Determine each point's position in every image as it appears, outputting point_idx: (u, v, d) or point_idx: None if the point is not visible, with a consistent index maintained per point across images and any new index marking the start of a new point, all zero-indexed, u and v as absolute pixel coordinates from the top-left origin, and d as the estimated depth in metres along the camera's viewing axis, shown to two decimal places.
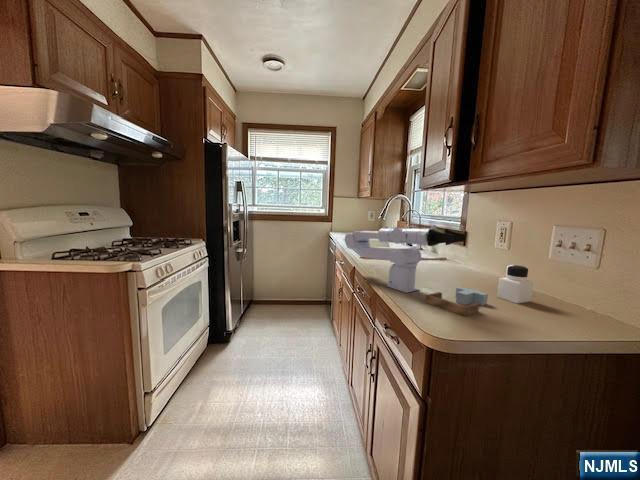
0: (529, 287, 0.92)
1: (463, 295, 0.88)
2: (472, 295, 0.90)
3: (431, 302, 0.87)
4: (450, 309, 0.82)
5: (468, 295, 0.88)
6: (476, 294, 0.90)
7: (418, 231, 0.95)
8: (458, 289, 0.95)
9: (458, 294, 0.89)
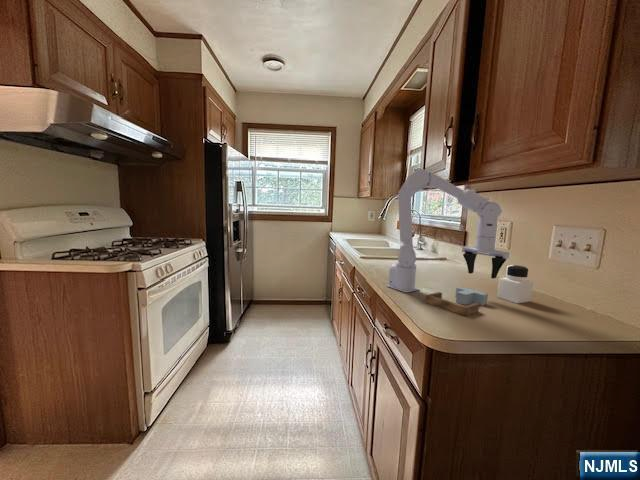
0: (529, 287, 0.92)
1: (463, 295, 0.88)
2: (472, 295, 0.90)
3: (431, 302, 0.87)
4: (450, 309, 0.82)
5: (468, 295, 0.88)
6: (476, 294, 0.90)
7: None
8: (458, 289, 0.95)
9: (458, 294, 0.89)
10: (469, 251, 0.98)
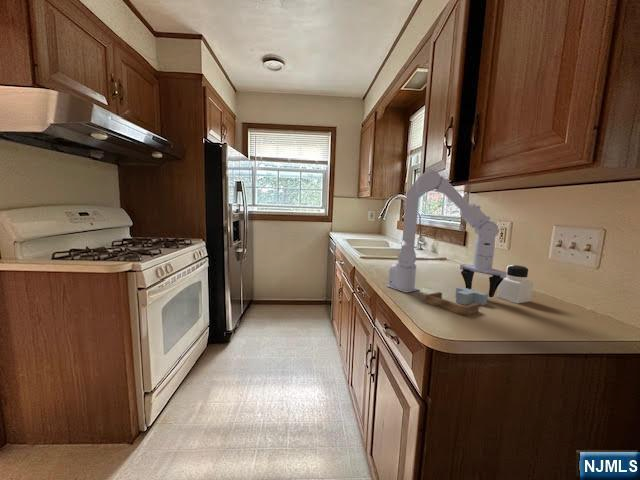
0: (529, 287, 0.92)
1: (463, 295, 0.88)
2: (472, 295, 0.90)
3: (431, 302, 0.87)
4: (450, 309, 0.82)
5: (468, 295, 0.88)
6: (476, 294, 0.90)
7: None
8: (458, 289, 0.95)
9: (458, 294, 0.89)
10: (467, 269, 0.99)
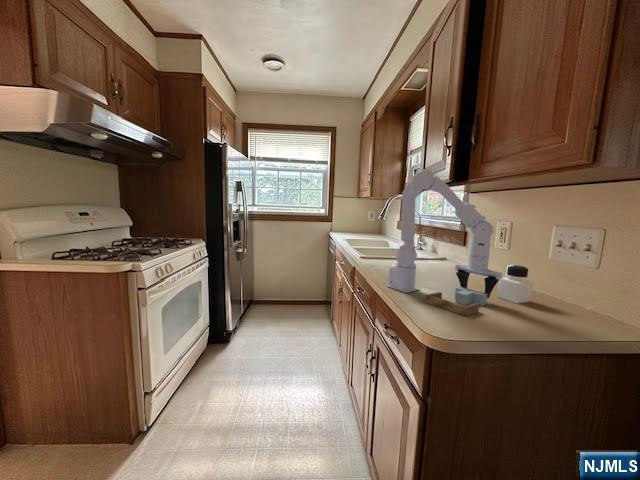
0: (529, 287, 0.92)
1: (462, 295, 0.88)
2: (471, 295, 0.90)
3: (431, 302, 0.87)
4: (450, 309, 0.82)
5: (467, 295, 0.88)
6: (475, 294, 0.89)
7: None
8: (457, 289, 0.94)
9: (457, 294, 0.89)
10: (462, 269, 0.97)
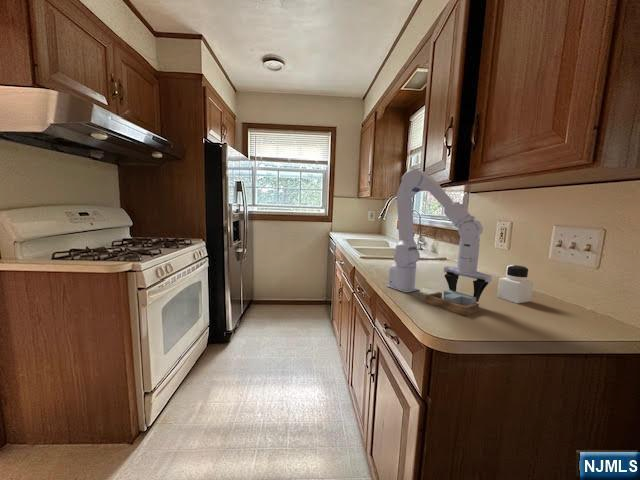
0: (529, 287, 0.92)
1: (450, 299, 0.84)
2: (460, 299, 0.85)
3: (431, 302, 0.87)
4: (450, 309, 0.82)
5: (455, 299, 0.84)
6: (464, 298, 0.85)
7: None
8: (446, 292, 0.90)
9: (445, 298, 0.85)
10: (451, 272, 0.93)
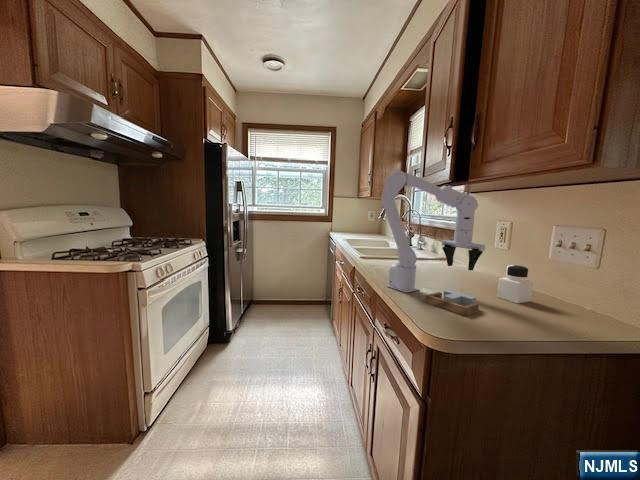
0: (529, 287, 0.92)
1: (450, 299, 0.84)
2: (460, 299, 0.85)
3: (431, 302, 0.87)
4: (450, 309, 0.82)
5: (455, 299, 0.84)
6: (464, 298, 0.85)
7: None
8: (446, 292, 0.90)
9: (445, 298, 0.85)
10: (448, 244, 1.01)
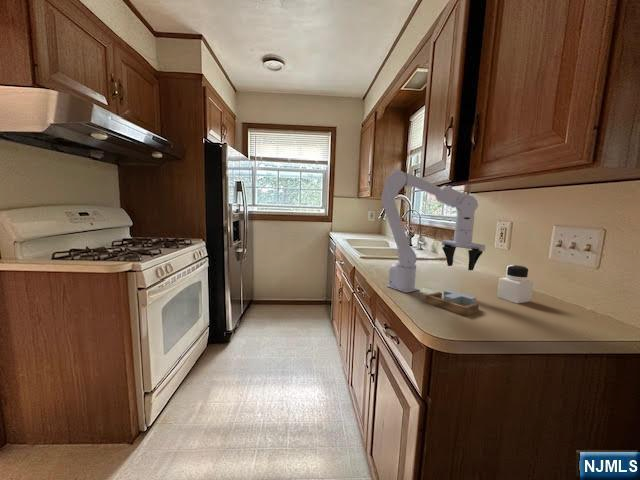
0: (529, 287, 0.92)
1: (450, 299, 0.84)
2: (460, 299, 0.85)
3: (431, 302, 0.87)
4: (450, 309, 0.82)
5: (455, 299, 0.84)
6: (464, 298, 0.85)
7: None
8: (446, 292, 0.90)
9: (445, 298, 0.85)
10: (448, 244, 1.01)
